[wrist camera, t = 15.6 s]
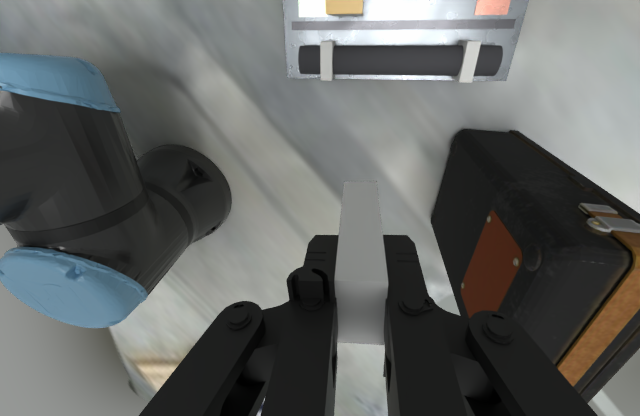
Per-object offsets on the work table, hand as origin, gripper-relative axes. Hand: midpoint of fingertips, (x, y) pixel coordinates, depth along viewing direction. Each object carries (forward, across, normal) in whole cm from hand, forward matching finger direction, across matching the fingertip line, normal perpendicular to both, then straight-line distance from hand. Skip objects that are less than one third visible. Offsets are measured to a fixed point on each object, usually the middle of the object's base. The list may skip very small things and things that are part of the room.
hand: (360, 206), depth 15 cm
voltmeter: (+26, +15, -11) cm, 32 cm away
